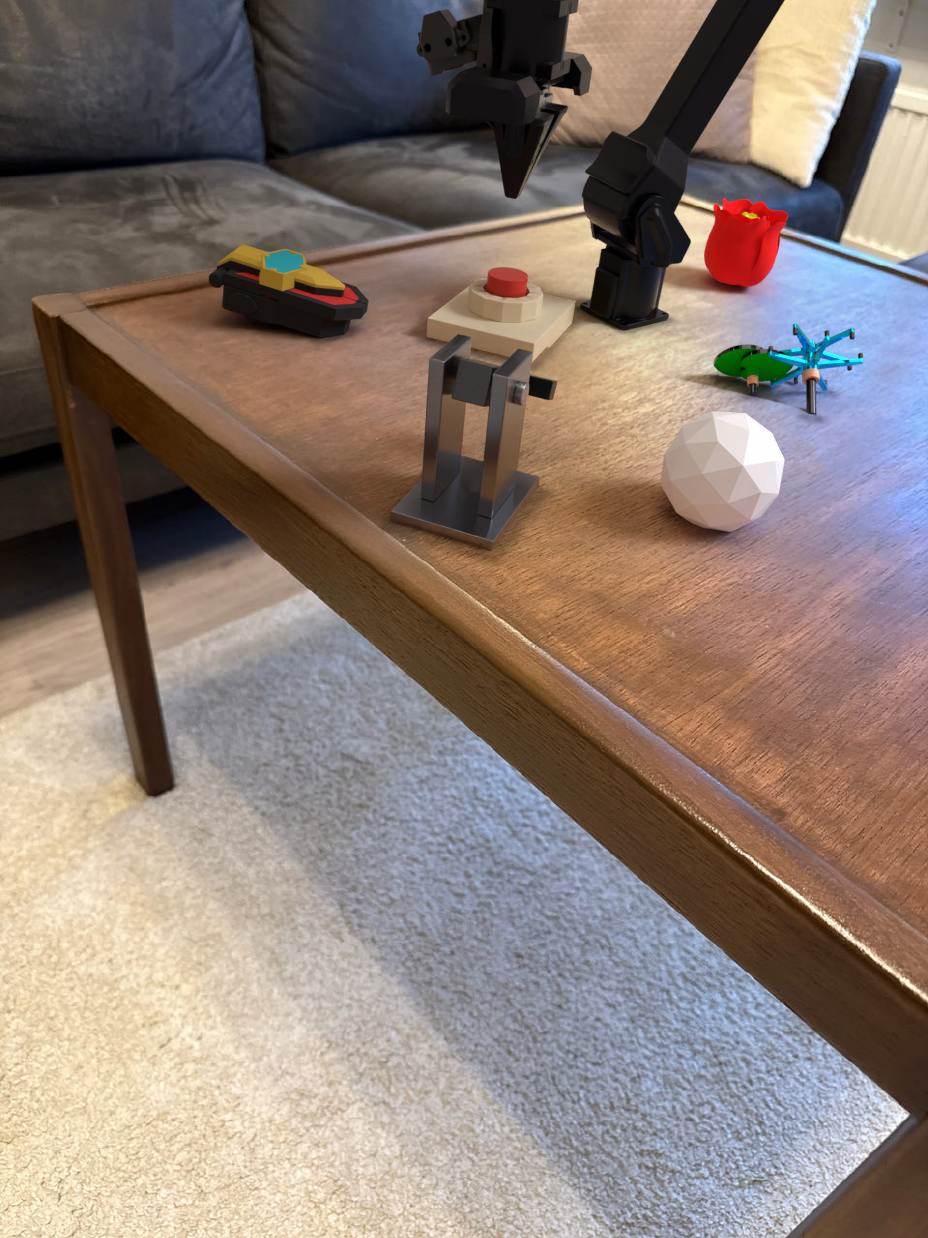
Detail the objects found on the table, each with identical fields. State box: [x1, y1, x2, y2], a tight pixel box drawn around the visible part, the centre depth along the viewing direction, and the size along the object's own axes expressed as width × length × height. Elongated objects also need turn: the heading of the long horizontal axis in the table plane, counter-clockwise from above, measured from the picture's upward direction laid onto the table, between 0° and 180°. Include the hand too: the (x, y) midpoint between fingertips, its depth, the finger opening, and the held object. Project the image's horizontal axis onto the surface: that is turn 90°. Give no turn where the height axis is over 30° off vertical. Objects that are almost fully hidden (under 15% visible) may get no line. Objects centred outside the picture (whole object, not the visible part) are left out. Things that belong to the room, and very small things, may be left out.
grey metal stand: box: [390, 334, 541, 551], centre depth 60 cm, size 9×7×11 cm
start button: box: [486, 266, 529, 298], centre depth 85 cm, size 4×4×2 cm
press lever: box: [451, 358, 558, 408], centre depth 61 cm, size 11×5×2 cm, turn 158°
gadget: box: [208, 243, 370, 338], centre depth 84 cm, size 6×13×6 cm, turn 78°
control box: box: [425, 276, 577, 363], centre depth 86 cm, size 12×10×4 cm
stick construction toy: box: [713, 323, 864, 417], centre depth 80 cm, size 12×7×8 cm
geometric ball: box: [659, 410, 786, 533], centre depth 62 cm, size 8×8×8 cm
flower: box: [703, 197, 789, 288], centre depth 101 cm, size 8×8×8 cm
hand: (511, 197), depth 81 cm, fingers closed
